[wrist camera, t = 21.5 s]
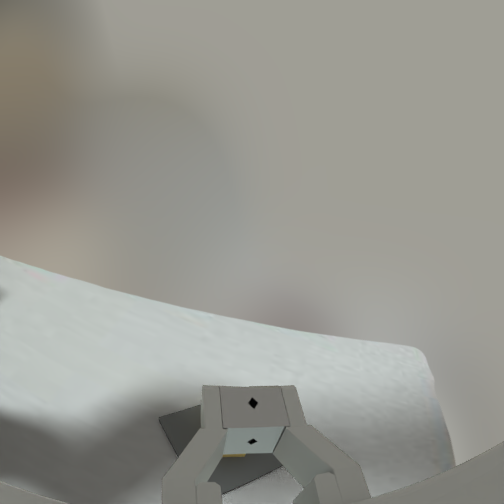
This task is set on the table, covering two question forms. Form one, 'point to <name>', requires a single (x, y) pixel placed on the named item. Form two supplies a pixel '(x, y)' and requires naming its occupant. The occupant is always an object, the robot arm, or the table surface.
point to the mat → (229, 468)
